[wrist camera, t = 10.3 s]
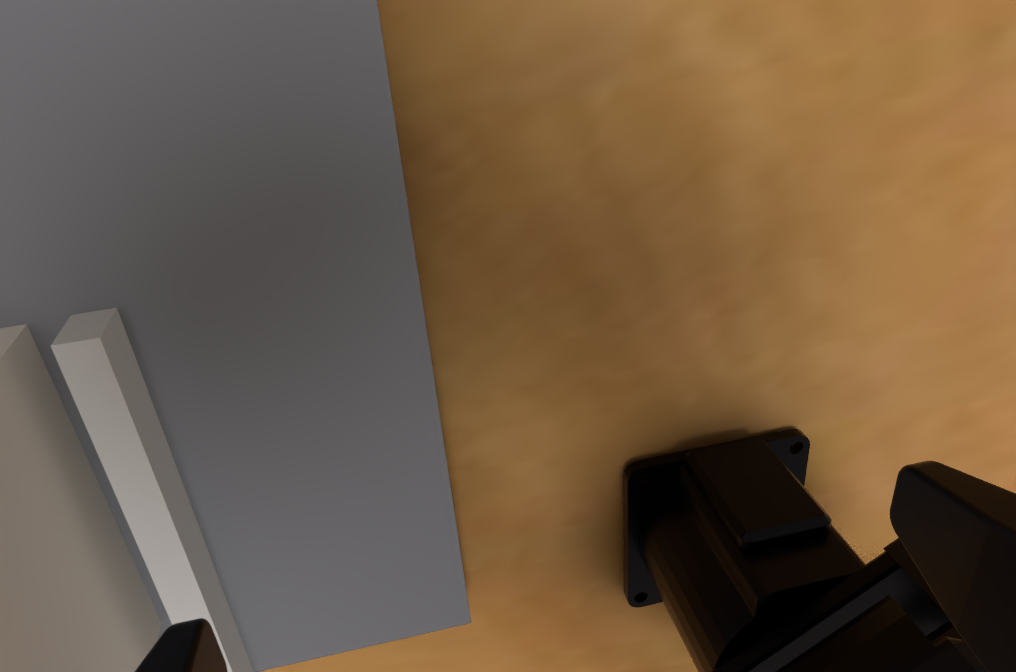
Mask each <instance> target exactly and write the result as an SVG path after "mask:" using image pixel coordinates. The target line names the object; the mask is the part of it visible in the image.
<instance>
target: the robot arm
mask: <svg viewBox="0 0 1016 672" xmlns="http://www.w3.org/2000/svg"><path fill="white" fill-rule="evenodd" d="M795 442H796V443H795ZM793 443H795V444H794V445H793V446H791V445H792V444H793ZM790 446H791V447H790ZM809 448H810V441H809V439H808V438H807V437H806V436H805V435H804V434H803V433H802V432H801V431H800V430H798V429H790V430H785V431H780V432H776V433H771V434H766V435H761V436H756V437H751V438H746V439H741V440H736V441H731V442H727V443H722V444H717V445H712V446H707V447H702V448H697V449H692V450H687V451H682V452H678V453H673V454H668V455H663V456H658V457H653V458H648V459H643V460H638V461H635V462H633V463H631V464H630V465H628V466H627V468H626V469H625V471H624V475H623V494H624V593H625V596H626V599H627V601H628V603H629V604H630V605H631V606H632V607H643V606H647V605H652V604H656V603H660V602H664V604H665V606H666V608H667V610H668V612H669V614H670V616H671V618H672V620H673V622H674V624H675V626H676V628H677V630H678V632H679V634H680V636H681V638H682V640H683V642H684V644H685V646H686V648H687V650H688V652H689V654H690V656H691V658H692V660H693V662H694V664H695V666H696V668H697V670H698V672H1016V494H1015V493H1013V492H1010V491H1008V490H1005V489H1003V488H1000V487H998V486H996V485H993V484H991V483H988V482H986V481H983V480H981V479H978V478H976V477H973V476H971V475H968V474H966V473H963V472H961V471H958V470H956V469H953V468H951V467H948V466H946V465H943V464H941V463H938V462H935V461H925V462H920V463H915V464H911V465H906V466H904V467H903V468H902V469H901V470H900V471H899V473H898V477H897V481H896V486H895V490H894V495H893V499H892V503H891V508H890V519H891V523H892V526H893V528H894V530H895V532H896V534H897V536H898V537H899V538H898V539H896V540H895V541H893V542H892V543H890V544H889V545H887V546H886V547H884V548H883V549H884V550H885V552H884V553H882V554H881V555H879V556H878V557H876V558H875V559H873V560H872V561H870V562H869V563H868V564H865V563H864V562H863V561H862V560H861V558H860V557H859V556H858V555H857V554H856V552H855V551H854V550H853V549H852V548H851V547H850V545H849V544H848V543H847V542H846V541H845V540H844V538H843V537H842V536H841V535H840V534H839V533H838V531H837V530H836V529H835V528H834V527H833V526H832V524H831V518H830V516H829V515H828V514H827V513H826V512H825V510H824V509H823V508H822V507H821V506H820V505H819V504H818V502H817V501H816V500H815V499H814V498H813V497H812V495H811V494H810V493H809V492H808V491H807V490H806V488H805V487H804V482H805V475H806V468H807V462H808V455H809ZM641 474H644V475H643V476H642V477H640V478H638V479H635V478H636V477H637V476H638V475H641ZM134 672H228V671H227V666H226V662H225V659H224V657H223V654H222V652H221V649H220V647H219V644H218V642H217V639H216V637H215V634H214V632H213V629H212V627H211V625H210V623H209V622H208V621H207V620H206V619H203V618H199V619H194V620H190V621H185V622H181V623H176V624H173V625H171V626H169V627H168V628H167V629H166V630H165V631H164V632H163V634H162V635H161V636H160V638H159V639H158V640H157V642H156V643H155V644H154V646H153V647H152V649H151V650H150V651H149V653H148V654H147V655H146V657H145V658H144V659H143V661H142V662H141V663H140V665H139V666H138V667H137V669H136V670H135V671H134Z"/></svg>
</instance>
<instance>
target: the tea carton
mask: <svg viewBox="0 0 1016 672" xmlns="http://www.w3.org/2000/svg"><path fill="white" fill-rule="evenodd" d="M161 624H162V622H161V620H160V618H159V616H158V613H157V611H156V609H155V607H154V605H153V602H152V600H151V598H150V596H149V593H148V591H147V589H146V587H145V585H144V582H143V580H142V578H141V576H140V574H139V571H138V569H137V567H136V565H135V562H134V560H133V558H132V556H131V554H130V551H129V549H128V547H127V545H126V543H125V540H124V538H123V536H122V534H121V532H120V529H119V527H118V525H117V523H116V520H115V518H114V516H113V514H112V512H111V509H110V507H109V505H108V503H107V501H106V498H105V496H104V494H103V492H102V489H101V487H100V485H99V483H98V481H97V478H96V476H95V474H94V472H93V470H92V467H91V465H90V463H89V461H88V459H87V456H86V454H85V452H84V450H83V447H82V445H81V443H80V441H79V439H78V436H77V434H76V432H75V430H74V428H73V425H72V423H71V421H70V419H69V416H68V414H67V412H66V410H65V408H64V405H63V403H62V401H61V399H60V397H59V394H58V392H57V390H56V388H55V386H54V383H53V381H52V379H51V377H50V374H49V372H48V370H47V368H46V366H45V363H44V361H43V359H42V357H41V355H40V352H39V350H38V348H37V346H36V343H35V341H34V339H33V337H32V335H31V332H30V330H29V328H28V326H27V324H25V325H18V326H12V327H6V328H0V672H134V671H135V670H136V669H137V667H138V666H139V665H140V663H141V662H142V661H143V659H144V658H145V657H146V655H147V654H148V653H149V651H150V650H151V649H152V647H153V646H154V644H155V643H156V642H157V640H158V637H159V632H160V628H161Z"/></svg>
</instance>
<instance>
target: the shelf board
mask: <svg viewBox="0 0 1016 672" xmlns="http://www.w3.org/2000/svg"><path fill="white" fill-rule="evenodd" d="M25 324H27V326H28V328H29V330H30V332H31V335H32V337H33V339H34V341H35V343H36V346H37V348H38V350H39V352H40V355H41V357H42V359H43V361H44V363H45V366H46V368H47V370H48V372H49V374H50V377H51V379H52V381H53V383H54V386H55V388H56V390H57V392H58V394H59V397H60V399H61V401H62V403H63V405H64V408H65V410H66V412H67V414H68V416H69V419H70V421H71V423H72V425H73V428H74V430H75V432H76V434H77V436H78V439H79V441H80V443H81V445H82V447H83V450H84V452H85V454H86V456H87V459H88V461H89V463H90V465H91V467H92V470H93V472H94V474H95V476H96V478H97V481H98V483H99V485H100V487H101V489H102V492H103V494H104V496H105V498H106V501H107V503H108V505H109V507H110V509H111V512H112V514H113V516H114V518H115V520H116V523H117V525H118V527H119V529H120V532H121V534H122V536H123V538H124V540H125V543H126V545H127V547H128V549H129V551H130V554H131V556H132V558H133V560H134V562H135V565H136V567H137V569H138V571H139V574H140V576H141V578H142V580H143V582H144V585H145V587H146V589H147V591H148V593H149V596H150V598H151V600H152V602H153V605H154V607H155V609H156V611H157V613H158V616H159V618H160V620H161V622H162V624H161V628H160V632H159V637H158V639H159V638H160V636H161V635H162V634H163V632H164V631H165V630H166V629H167V628H168V627H169V626H171V625H173V624H176V623H181V622H185V621H190V620H194V619H199V618H203V619H206V620H207V621H208V622H209V623H210V625H211V627H212V629H213V632H214V634H215V637H216V639H217V642H218V644H219V647H220V649H221V652H222V654H223V657H224V659H225V662H226V666H227V671H228V672H259V671H263V670H268V669H272V668H277V667H281V666H285V665H290V664H294V663H298V662H303V661H307V660H311V659H316V658H320V657H325V656H329V655H333V654H338V653H342V652H346V651H351V650H355V649H359V648H364V647H368V646H373V645H377V644H381V643H386V642H390V641H394V640H399V639H403V638H407V637H412V636H416V635H421V634H425V633H429V632H434V631H438V630H442V629H447V628H451V627H455V626H460V625H464V624H469V623H471V618H470V611H469V605H468V598H467V591H466V585H465V578H464V572H463V565H462V558H461V552H460V545H459V539H458V532H457V525H456V519H455V512H454V506H453V499H452V493H451V486H450V479H449V473H448V466H447V460H446V453H445V446H444V440H443V433H442V427H441V420H440V413H439V407H438V400H437V394H436V387H435V380H434V374H433V367H432V361H431V354H430V347H429V341H428V334H427V328H426V321H425V314H424V308H423V301H422V295H421V288H420V281H419V275H418V268H417V262H416V255H415V248H414V242H413V235H412V229H411V222H410V216H409V209H408V202H407V196H406V189H405V183H404V176H403V169H402V163H401V156H400V150H399V143H398V136H397V130H396V123H395V117H394V110H393V103H392V97H391V90H390V84H389V77H388V70H387V64H386V57H385V51H384V44H383V37H382V31H381V24H380V18H379V11H378V4H377V0H0V328H6V327H12V326H18V325H25Z"/></svg>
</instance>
